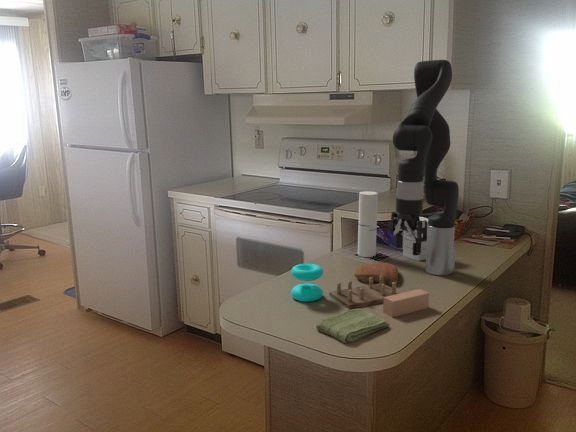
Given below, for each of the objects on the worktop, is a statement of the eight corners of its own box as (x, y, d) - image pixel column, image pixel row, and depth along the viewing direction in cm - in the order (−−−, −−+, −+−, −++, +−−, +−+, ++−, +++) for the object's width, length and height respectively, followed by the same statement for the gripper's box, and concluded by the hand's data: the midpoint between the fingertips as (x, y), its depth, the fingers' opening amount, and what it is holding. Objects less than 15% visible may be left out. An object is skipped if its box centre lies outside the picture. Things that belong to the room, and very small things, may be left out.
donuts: (297, 260, 177) (326, 264, 173) (297, 289, 179) (326, 293, 175) (286, 270, 167) (317, 273, 164) (286, 300, 170) (317, 304, 166)
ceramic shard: (357, 256, 198) (398, 264, 195) (354, 273, 199) (395, 281, 196) (355, 263, 184) (399, 272, 181) (351, 281, 184) (396, 290, 182)
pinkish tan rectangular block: (419, 304, 167) (419, 288, 166) (428, 308, 164) (429, 292, 162) (383, 313, 160) (383, 297, 159) (391, 318, 157) (392, 301, 156)
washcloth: (391, 328, 150) (391, 317, 150) (346, 347, 139) (347, 335, 139) (356, 314, 160) (356, 303, 160) (312, 330, 149) (312, 319, 149)
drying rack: (381, 286, 182) (382, 272, 181) (403, 298, 171) (404, 284, 170) (329, 295, 174) (329, 281, 172) (348, 308, 163) (349, 294, 162)
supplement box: (418, 252, 220) (420, 216, 217) (435, 257, 213) (437, 220, 209) (401, 255, 215) (403, 218, 212) (418, 261, 208) (420, 223, 205)
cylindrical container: (357, 251, 221) (359, 191, 215) (375, 252, 220) (377, 191, 214) (357, 256, 214) (359, 194, 208) (375, 257, 213) (377, 194, 207)
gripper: (436, 199, 149) (433, 256, 153) (405, 191, 162) (403, 243, 166) (414, 201, 147) (411, 259, 150) (384, 193, 159) (382, 246, 163)
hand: (407, 251), depth 158 cm, fingers open, 8 cm apart
